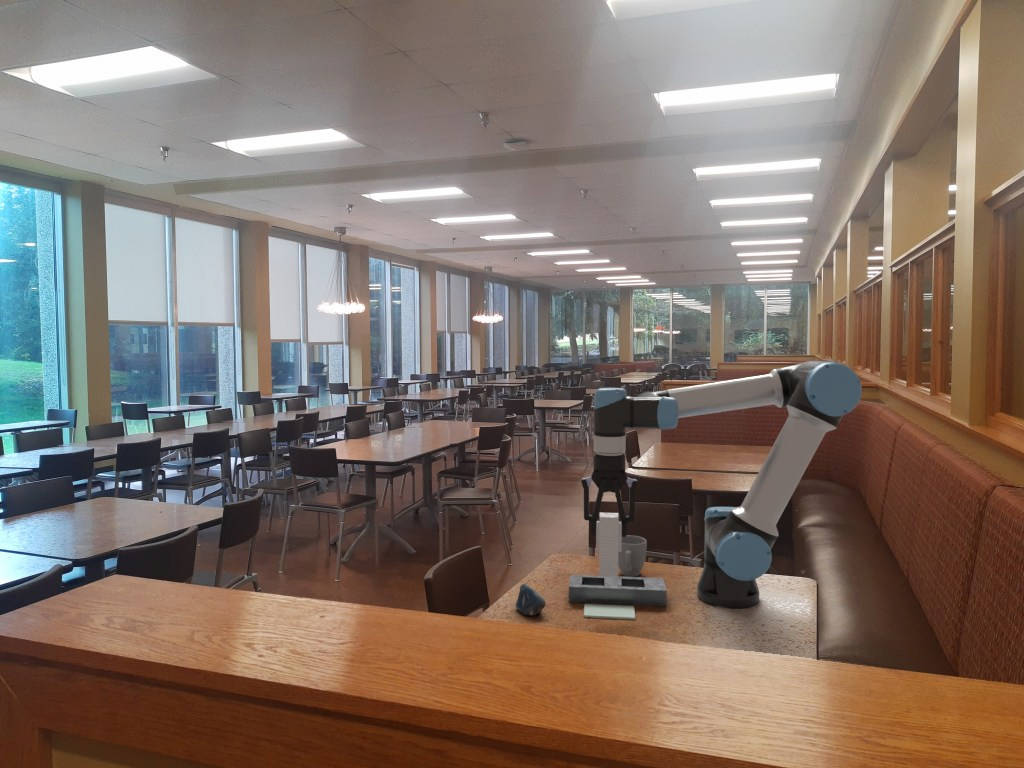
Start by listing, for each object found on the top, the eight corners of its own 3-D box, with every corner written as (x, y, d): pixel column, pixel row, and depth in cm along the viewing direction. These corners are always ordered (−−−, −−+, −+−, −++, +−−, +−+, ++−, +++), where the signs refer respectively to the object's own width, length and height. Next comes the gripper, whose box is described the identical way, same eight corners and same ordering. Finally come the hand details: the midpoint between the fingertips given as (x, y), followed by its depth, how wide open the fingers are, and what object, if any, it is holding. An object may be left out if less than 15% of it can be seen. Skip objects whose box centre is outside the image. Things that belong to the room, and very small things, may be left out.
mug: (616, 567, 199) (616, 534, 198) (647, 569, 196) (647, 536, 196) (611, 581, 187) (611, 546, 186) (644, 583, 185) (644, 548, 184)
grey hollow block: (663, 593, 178) (663, 578, 177) (666, 606, 169) (666, 590, 169) (570, 589, 181) (570, 574, 181) (568, 602, 172) (568, 586, 172)
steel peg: (617, 569, 167) (618, 512, 166) (618, 576, 162) (618, 517, 161) (599, 568, 167) (599, 512, 166) (598, 575, 163) (599, 517, 162)
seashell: (537, 611, 160) (551, 577, 167) (504, 608, 164) (519, 575, 171) (547, 628, 163) (560, 594, 170) (514, 624, 167) (528, 591, 174)
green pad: (633, 608, 168) (633, 606, 168) (635, 619, 161) (635, 617, 161) (584, 606, 169) (584, 604, 169) (583, 617, 162) (583, 615, 162)
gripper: (646, 451, 165) (644, 546, 167) (573, 449, 168) (572, 543, 169) (648, 456, 158) (646, 555, 159) (571, 454, 160) (571, 552, 162)
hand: (608, 549), depth 164 cm, fingers closed on steel peg, 4 cm apart
